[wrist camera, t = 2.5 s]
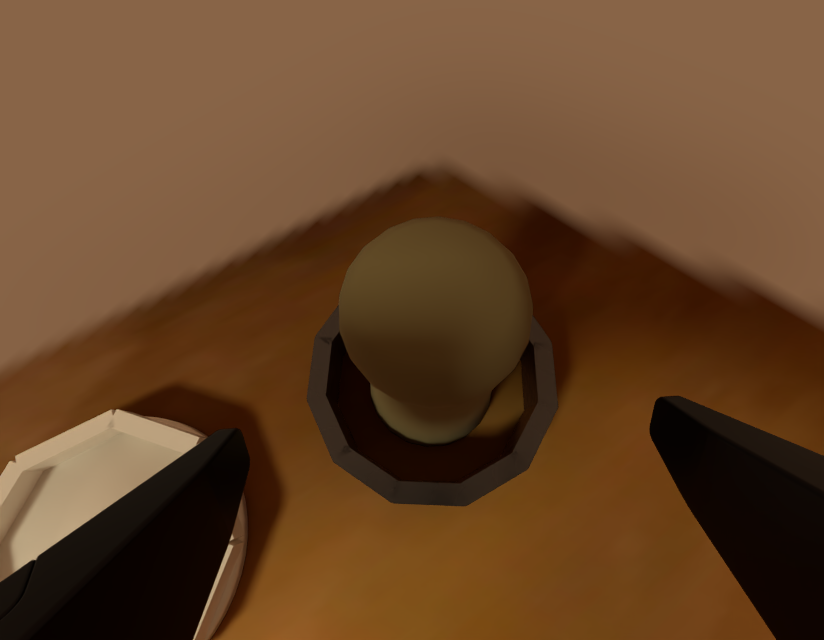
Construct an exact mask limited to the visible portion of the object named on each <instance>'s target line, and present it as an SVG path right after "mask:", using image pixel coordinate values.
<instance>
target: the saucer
mask: <svg viewBox="0 0 824 640" xmlns="http://www.w3.org/2000/svg"><path fill="white" fill-rule="evenodd" d="M206 438H208V436H207V435H205V434H204V433H202V432H200V431H199V430H197V429H195V428H193V427H191V426H188V425H186V424H184V423H180V422H176V421H173V420H168V419H163V418H158V417H148V416H142V415H139V414H136V413H133V412H129V411H124V410H119V409H117V410H109V411H107V412H105V413H103V414H101V415H99V416H97V417H95V418H93V419H91V420H89V421H87V422H85V423H83V424H81V425H78V426H76V427H74V428H72V429H70V430H68V431H66V432H64V433H62V434H60V435H58V436H56V437H54V438H52V439H50V440H47V441H45V442H43V443H41V444H39V445H37V446H35V447H33V448H31V449H29V450H27V451H25V452H23V453H21V454H18V455H16V456H15V458H16V461H10V462H9V463H8V465H7V466H6V468H5V470H4V471H3V473H2V474H1V476H0V582H1V581H2V580H4V579H5V578H7V577H8V576H10V575H11V574H12V573H14V572H15V571H17V570H18V569H20V568H21V567H22V566H24V565H25V564H27V563H28V562H29V561H31V560H36V558H37V556H38V555H40V554H41V553H43V552H44V551H45V550H47V549H48V548H50V547H51V546H53V545H54V544H56V543H57V542H58V541H60V540H61V539H63V538H64V537H66V536H67V535H68V534H70V533H71V532H73V531H74V530H76V529H77V528H78V527H80V526H81V525H83V524H84V523H86V522H87V521H89V520H90V519H91V518H93V517H94V516H96V515H97V514H99V513H100V512H101V511H103V510H104V509H106V508H107V507H109V506H110V505H111V504H113V503H114V502H116V501H117V500H119V499H120V498H121V497H123V496H124V495H126V494H127V493H129V492H130V491H132V490H133V489H134V488H136V487H137V486H139V485H140V484H142V483H143V482H144V481H146V480H147V479H149V478H150V477H152V476H153V475H154V474H156V473H157V472H159V471H160V470H162V469H163V468H165V467H166V466H167V465H169V464H170V463H172V462H173V461H175V460H176V459H177V458H179V457H180V456H182V455H183V454H185V453H186V452H187V451H189V450H190V449H192V448H193V447H195V446H196V445H198V444H199V443H200V442H202V441H203V440H205V439H206ZM247 540H248V515H247V507H246V500H245V496H244V492H243V495H242V498H241V502H240V506H239V510H238V514H237V518H236V521H235V525H234V529H233V532H232V536H231V539H230V542H229V545H228V547H227V550H226V553H225V556H224V558H223V561H222V564H221V566H220V569H219V572H218V574H217V577H216V580H215V582H214V585H213V588H212V590H211V593H210V596H209V598H208V601H207V604H206V606H205V609H204V612H203V615H202V617H201V620H200V623H199V625H198V628H197V631H196V633H195V636H194V639H193V640H210V639H211V638H212V636H213V635H214V634H215V632H216V630H217V629H218V627H219V625H220V623H221V622H222V620H223V618H224V617H225V615H226V613H227V611H228V609H229V606H230V604H231V602H232V600H233V598H234V595H235V593H236V590H237V587H238V584H239V581H240V578H241V575H242V570H243V566H244V561H245V557H246V549H247Z"/></svg>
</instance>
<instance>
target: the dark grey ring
mask: <svg viewBox="0 0 824 640" xmlns="http://www.w3.org/2000/svg"><path fill="white" fill-rule="evenodd" d="M346 352H347V350H346V347H345V344H344V342H343V339H342V336H341V334H340V331H339V305H338V306H337V308H336V309H335V310H334V312H333V313H332V314H331V316H330V317H329V318H328V320H327V321H326V323H325V324H324V325H323V327H322V328H321V329H320V331H319V332H318V333H317V335H316V336H315V340H314V348H313V355H312V363H311V370H310V378H309V385H308V393H307V402H308V404H309V406H310V409H311V411H312V413H313V416H314V418H315V420H316V423H317V425H318V427H319V430H320V432H321V434H322V437H323V439H324V441H325V444H326V446H327V449H328V451H329V453H330V456H331V458H332V460H333V462H334V463H335V464H337V465H338V466H340V467H341V468H343V469H344V470H345V471H347V472H348V473H350V474H351V475H353V476H354V477H355V478H357V479H358V480H360V481H361V482H362V483H364V484H365V485H367V486H368V487H370V488H371V489H372V490H374V491H375V492H377V493H378V494H380V495H381V496H382V497H384V498H385V499H387V500H388V501H390V502H391V503H392V502H393V503H398V504H421V505H445V506H467V505H469V504H470V503H472V502H474V501H476V500H477V499H479V498H481V497H482V496H484V495H486V494H487V493H489V492H491V491H492V490H494V489H496V488H497V487H499V486H501V485H502V484H504V483H506V482H507V481H509V480H511V479H512V478H514V477H516V476H517V475H519V474H521V473H522V472H524V471H526V470H527V469H528V468H529V466H530V464H531V462H532V460H533V458H534V456H535V454H536V452H537V450H538V447H539V445H540V443H541V441H542V439H543V437H544V435H545V433H546V431H547V429H548V427H549V425H550V423H551V421H552V419H553V417H554V415H555V413H556V411H557V409H558V408H557V407H558V401H557V390H556V380H555V370H554V359H553V349H552V343H551V340H550V339H549V338H548V336H547V335H546V333H545V332H544V330H543V329H542V328H541V326H540V325H539V323H538V322H537V320H536V319H535V318H534V316H533V315H532V322H531V330H530V337H529V342H528V344H527V346H526V348H525V350H524V352H523V354H522V356H521V358H520V361H521V368H522V383H523V398H524V412H523V414H522V416H521V418H520V420H519V422H518V423H517V425H516V427H515V429H514V431H513V433H512V435H511V437H510V439H509V441H508V443H507V445H506V447H505V449H504V450H503V452H502V454H501V456H499V457H498V458H496V459H494V460H492V461H491V462H489V463H487V464H486V465H484V466H482V467H480V468H479V469H477V470H475V471H474V472H472V473H470V474H468V475H467V476H465V477H463V478H462V479H460V480H458V481H456V482H440V481H415V480H401V479H400V478H399V477H397V476H396V475H394V474H393V473H391V472H390V471H388V470H387V469H385V468H384V467H382V466H381V465H379V464H378V463H377V462H375V461H374V460H372V459H371V458H369V457H368V456H366V455H365V454H363V453H362V452H360V451H359V450H358V448H357V445H356V443H355V441H354V439H353V437H352V434H351V432H350V430H349V428H348V426H347V423H346V421H345V419H344V417H343V415H342V412H341V410H340V408H339V406H338V399H339V389H340V379H341V370H342V360H343V356H344V354H345V353H346Z"/></svg>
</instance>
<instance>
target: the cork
mask: <svg viewBox="0 0 824 640" xmlns="http://www.w3.org/2000/svg"><path fill="white" fill-rule="evenodd" d="M532 315H533V303H532V298H531V293H530V289H529V284H528V279H527V276H526V275H525V273H524V271H523V270H522V268H521V266H520V265H519V263H518V261H517V260H516V258H515V256H514V255H513V253H512V252H510V251H509V250H508V249H507V248H506V247H505V246H504V245H503V244H501V243H500V242H499V241H498V240H497V239H496V238H495V237H494V236H492V235H491V234H490V233H489V232H487V231H485V230H483V229H481V228H479V227H477V226H475V225H472V224H470V223H468V222H466V221H462V220H456V219H451V218H445V217H429V218H418V219H412V220H409V221H407V222H404V223H401V224H399V225H396V226H393V227H391V228H389V229H387V230H386V231H385V232H383V233H382V234H381V235H379V236H378V237H377V238H375V239H374V240H373V241H371V242H370V243H369V244H367V245H366V246H365V247H364V248H363V249H362V250H361V252H360V253H359V254H358V256H357V257H356V258H355V260H354V261H353V263H352V264H351V265H350V267H349V268H348V270H347V273H346V276H345V279H344V282H343V285H342V288H341V292H340V295H339V331H340V334H341V336H342V339H343V342H344V344H345V347H346V350H347V352H348V355H349V358H350V359H351V360H352V362H353V363H354V364H355V366H356V367H357V368H358V369H359V370H360V372H361V373H362V374H363V375H364V376H365V378H366V379H367V380H368V381H369V382H370V387H371V399H372V402H373V404H374V407H375V410H376V412H377V415H378V417H379V418H380V419H381V420H382V422H383V423H384V424H385V425H386V426H387V428H388V429H389V430H390V431H391V432H392V433H394V434H396V435H397V436H399V437H400V438H402V439H403V440H405V441H407V442H410V443H414V444H418V445H422V446H426V447H429V446H440V445H448V444H450V443H452V442H455V441H457V440H459V439H461V438H464V437H466V436H467V435H468V434H469V433H470V432H471V431H472V430H473V429H474V428H475V427H476V426H477V425H478V424H480V422H481V420H482V418H483V416H484V414H485V413H486V411H487V409H488V407H489V403H490V397H491V391H492V390H493V389H494V388H495V387H496V386H497V385H498V384H499V383H500V382H501V381H502V380H503V379H504V378H506V377H507V376H508V375H509V374H510V373H511V372H512V371H513V370H514V369H515V367H516V365H517V363H518V361H519V360H520V358H521V356H522V354H523V352H524V350H525V348H526V346H527V344H528V342H529V337H530V330H531V322H532Z"/></svg>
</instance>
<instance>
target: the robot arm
mask: <svg viewBox="0 0 824 640" xmlns="http://www.w3.org/2000/svg"><path fill="white" fill-rule="evenodd" d="M650 436H651V439H652V441H653V443H654V444H655V446H656V448H657V450H658V452H659V454H660V456H661V458H662V459H663V461H664V463H665V465H666V467H667V469H668V471H669V473H670V474H671V476H672V478H673V480H674V482H675V484H676V486H677V488H678V489H679V491H680V493H681V495H682V497H683V498H684V500H685V502H686V504H687V505H688V507H689V508H690V510H691V512H692V513H693V515H694V516H695V518H696V519H697V521H698V522H699V524H700V525H701V527H702V528H703V530H704V531H705V533H706V534H707V536H708V537H709V539H710V541H711V542H712V544H713V545H714V547H715V548H716V550H717V551H718V553H719V554H720V556H721V557H722V559H723V560H724V562H725V563H726V565H727V566H728V568H729V569H730V571H731V572H732V574H733V575H734V577H735V578H736V580H737V581H738V583H739V584H740V586H741V587H742V589H743V590H744V592H745V593H746V595H747V596H748V598H749V599H750V601H751V602H752V604H753V605H754V607H755V608H756V610H757V611H758V613H759V614H760V616H761V617H762V619H763V620H764V622H765V623H766V625H767V626H768V628H769V629H770V631H771V632H772V634H773V635H774V637H775V638H776V640H824V456H823V455H820V454H818V453H815V452H813V451H811V450H808V449H806V448H803V447H801V446H799V445H796V444H794V443H791V442H789V441H787V440H784V439H782V438H779V437H777V436H775V435H772V434H770V433H767V432H765V431H763V430H760V429H758V428H755V427H753V426H751V425H748V424H746V423H743V422H741V421H739V420H736V419H734V418H731V417H729V416H726V415H724V414H722V413H719V412H717V411H714V410H712V409H710V408H707V407H705V406H702V405H700V404H698V403H695V402H693V401H690V400H688V399H686V398H683V397H681V396H666V397H660V398H658V399H657V400H656V401H655V405H654V409H653V414H652V418H651V423H650ZM249 467H250V458H249V454H248V451H247V447H246V444H245V441H244V438H243V435H242V432H241V431H240V430H239V429H237V428H230V429H220V430H218V431H216V432H215V433H213V434H212V435H210V436H209V437H208V438H206V439H205V440H203V441H202V442H200V443H199V444H198V445H196V446H195V447H193V448H192V449H190V450H189V451H187V452H186V453H185V454H183V455H182V456H180V457H179V458H177V459H176V460H175V461H173V462H172V463H170V464H169V465H167V466H166V467H165V468H163V469H162V470H160V471H159V472H157V473H156V474H154V475H153V476H152V477H150V478H149V479H147V480H146V481H144V482H143V483H142V484H140V485H139V486H137V487H136V488H134V489H133V490H132V491H130V492H129V493H127V494H126V495H124V496H123V497H121V498H120V499H119V500H117V501H116V502H114V503H113V504H111V505H110V506H109V507H107V508H106V509H104V510H103V511H101V512H100V513H99V514H97V515H96V516H94V517H93V518H91V519H90V520H89V521H87V522H86V523H84V524H83V525H81V526H80V527H78V528H77V529H76V530H74V531H73V532H71V533H70V534H68V535H67V536H66V537H64V538H63V539H61V540H60V541H58V542H57V543H56V544H54V545H53V546H51V547H50V548H48V549H47V550H45V551H44V552H43V553H41V554H40V555H38V556H37V558H36V560H31V561H29V562H28V563H27V564H25V565H24V566H22V567H21V568H20V569H18V570H17V571H15V572H14V573H12V574H11V575H10V576H8V577H7V578H5V579H4V580H2V581H1V582H0V640H193V639H194V636H195V633H196V631H197V628H198V625H199V623H200V620H201V617H202V615H203V612H204V609H205V606H206V604H207V601H208V598H209V596H210V593H211V590H212V588H213V585H214V582H215V580H216V577H217V574H218V572H219V569H220V566H221V564H222V561H223V558H224V556H225V553H226V550H227V547H228V545H229V542H230V539H231V536H232V532H233V529H234V525H235V521H236V518H237V514H238V510H239V506H240V502H241V498H242V495H243V491H244V487H245V483H246V479H247V475H248V471H249Z"/></svg>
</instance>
